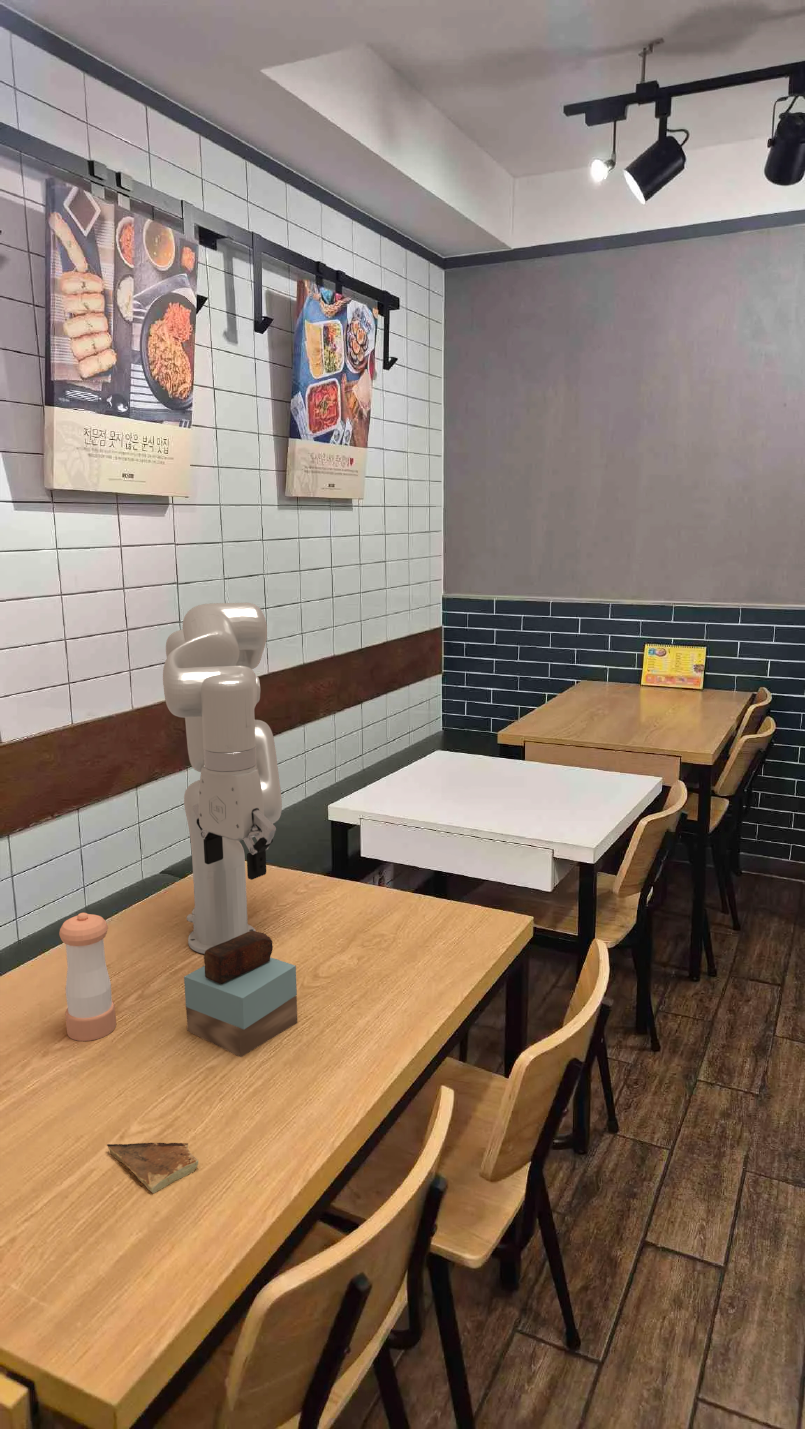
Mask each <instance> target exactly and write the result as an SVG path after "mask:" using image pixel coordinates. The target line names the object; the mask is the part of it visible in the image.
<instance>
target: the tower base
mask: <svg viewBox="0 0 805 1429" xmlns="http://www.w3.org/2000/svg"><path fill="white" fill-rule="evenodd" d="M297 1000H298V998H297V995H296V996H294V997H293V998H291V999H290V1000H288V1001H287V1002H285V1003H284V1004H282V1005H281V1006H279V1007H278V1008H276V1009H275V1010H273V1011H272V1012H270V1013H269V1014H267V1015H266V1016H264V1017H263V1018H261V1019H259V1020H258V1021H256V1022H255V1023H253V1024H252V1025H250V1026H249V1027H247V1028H246V1029H241V1028H239V1027H236V1026H234V1025H231V1024H229V1023H226V1022H224V1021H221V1020H218V1019H216V1018H213V1017H211V1016H208V1015H206V1014H203V1013H200V1012H198V1011H195V1010H193V1009H190V1008H188V1007H186V1006H185V1010H186V1014H185V1015H186V1028H187V1032H189V1033H190V1034H193V1035H195V1036H197V1037H199V1038H201V1039H203V1040H206V1042H209V1043H211V1044H213V1045H215V1046H217V1047H219V1048H222V1049H223V1050H224V1051H227V1052H229V1053H231V1054H233V1055H235V1056H237V1057H239V1058H242V1057H243V1056H245V1055H247V1054H249V1053H250V1052H252V1051H254V1050H255V1049H257V1048H259V1047H260V1046H262V1045H264V1044H265V1043H267V1042H268V1041H270V1040H271V1039H273V1038H275V1037H277V1036H278V1035H279V1034H281V1033H283V1032H284V1031H286V1030H288V1029H290V1028H291V1027H293V1026H295V1025H297V1024H298V1001H297Z"/></svg>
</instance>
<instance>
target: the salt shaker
mask: <svg viewBox="0 0 805 1429" xmlns="http://www.w3.org/2000/svg"><path fill="white" fill-rule="evenodd" d="M108 930H109V927H108V924H107V921H106V920H105V919H104V917H102V916H101V915H97V914H93V913H92V914H90V913H87V912H80V913H78V915H75V916H73V917H70V918H68V919H66V920H65V921H64V922H63V923H62V925H61V927H60V928H59V933H58V934H59V937H60V940H61V941H62V943H63V944H65V951H66V963H67V971H66V979H65V980H66V981H65V982H66V983H65V995H66V996H65V997H66V1005H67V1008H66V1010H65V1014H64V1015H65V1022H66V1024H65V1025H66V1033H67V1037H69V1038H70V1039H72V1040H74V1041H79V1042H88V1041H89V1042H90V1041H94V1040H98V1039H101V1038H104V1037H106V1036H108V1035H109V1034H111V1033H113V1031H114V1030H115V1029H116V1026H117V1021H116V1020H117V1019H116V1007H115V1002H114V1001H113V1000H112V998H113V997H112V983H111V979H110V975H109V971H108V968H107V964H106V954H105V943H104V938H106V936H107V934H108Z"/></svg>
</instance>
